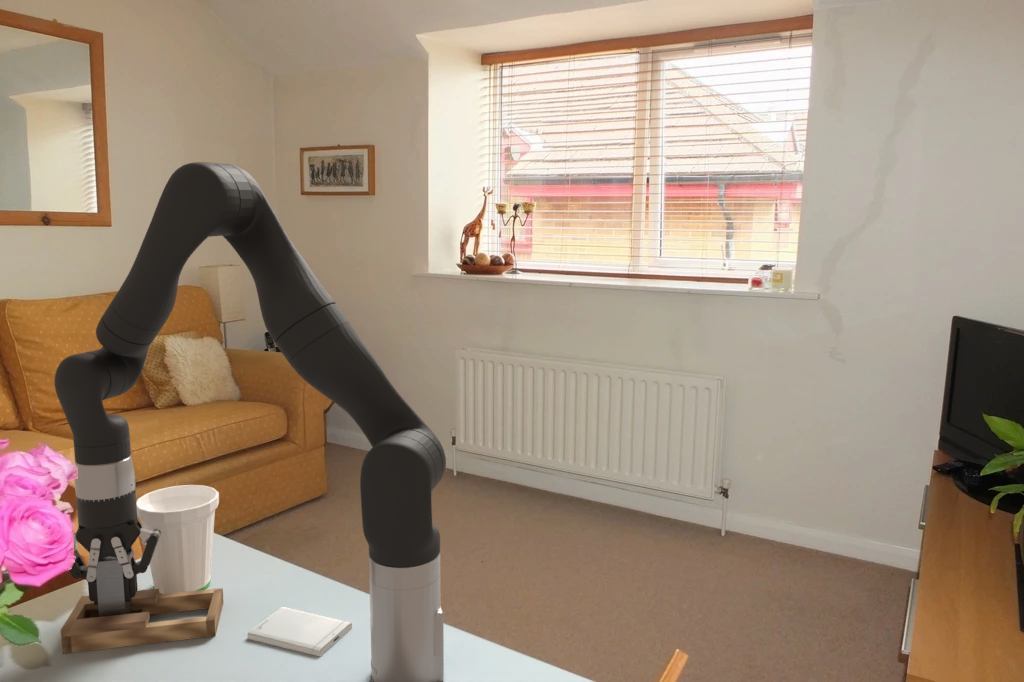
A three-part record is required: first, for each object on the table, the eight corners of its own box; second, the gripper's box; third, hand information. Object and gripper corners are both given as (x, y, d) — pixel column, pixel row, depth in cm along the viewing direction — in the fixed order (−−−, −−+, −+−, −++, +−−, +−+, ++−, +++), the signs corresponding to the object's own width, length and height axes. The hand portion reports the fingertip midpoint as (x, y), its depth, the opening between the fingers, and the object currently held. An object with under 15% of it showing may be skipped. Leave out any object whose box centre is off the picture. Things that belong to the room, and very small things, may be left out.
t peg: (143, 616, 115) (139, 546, 114) (134, 636, 110) (129, 562, 108) (99, 621, 114) (95, 549, 113) (88, 641, 108) (82, 566, 107)
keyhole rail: (223, 602, 120) (222, 582, 119) (215, 635, 110) (214, 613, 110) (83, 617, 115) (81, 596, 114) (62, 653, 106) (60, 630, 105)
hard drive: (247, 631, 110) (319, 649, 105) (282, 605, 117) (352, 620, 113) (247, 642, 110) (320, 660, 106) (283, 615, 118) (352, 630, 113)
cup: (127, 587, 124) (120, 499, 122) (199, 562, 134) (195, 479, 131) (163, 613, 116) (157, 519, 114) (238, 584, 126) (233, 496, 123)
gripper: (41, 501, 103) (51, 619, 106) (153, 493, 106) (161, 608, 109) (59, 483, 110) (68, 593, 113) (164, 476, 114) (171, 583, 116)
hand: (114, 600), depth 111 cm, fingers closed on t peg, 3 cm apart
